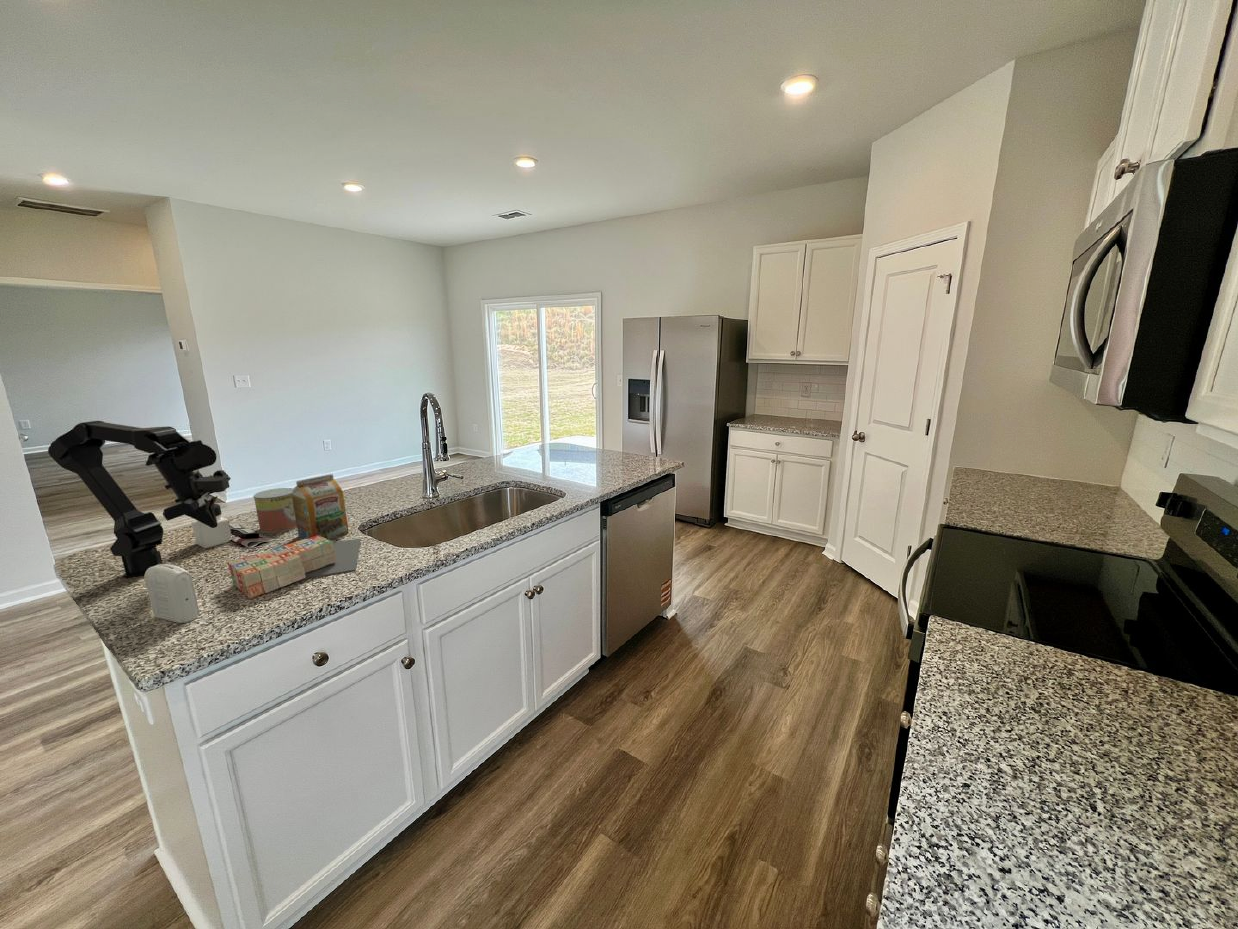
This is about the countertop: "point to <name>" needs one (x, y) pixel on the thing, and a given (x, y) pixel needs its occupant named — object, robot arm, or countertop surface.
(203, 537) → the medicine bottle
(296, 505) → the milk carton
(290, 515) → the canned food
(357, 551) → the mat
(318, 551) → the stack of blocks
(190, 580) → the photo printer
